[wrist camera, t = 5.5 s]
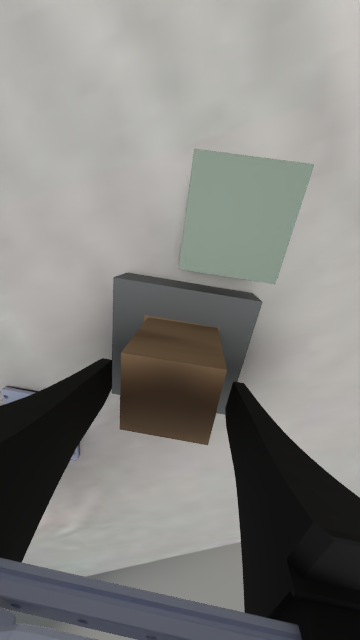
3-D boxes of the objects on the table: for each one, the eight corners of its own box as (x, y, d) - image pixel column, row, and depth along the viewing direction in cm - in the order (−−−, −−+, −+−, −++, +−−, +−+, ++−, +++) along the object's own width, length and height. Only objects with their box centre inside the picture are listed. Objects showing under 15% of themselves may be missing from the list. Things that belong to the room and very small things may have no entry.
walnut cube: (205, 384, 15) (207, 445, 11) (143, 374, 15) (119, 429, 11) (217, 327, 13) (227, 370, 9) (147, 317, 14) (120, 352, 9)
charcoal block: (222, 390, 19) (226, 415, 16) (124, 372, 19) (111, 393, 17) (250, 291, 15) (262, 301, 13) (128, 271, 16) (113, 277, 13)
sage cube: (251, 272, 14) (275, 284, 10) (185, 262, 15) (178, 269, 10) (271, 194, 13) (314, 164, 8) (196, 184, 13) (194, 148, 8)
